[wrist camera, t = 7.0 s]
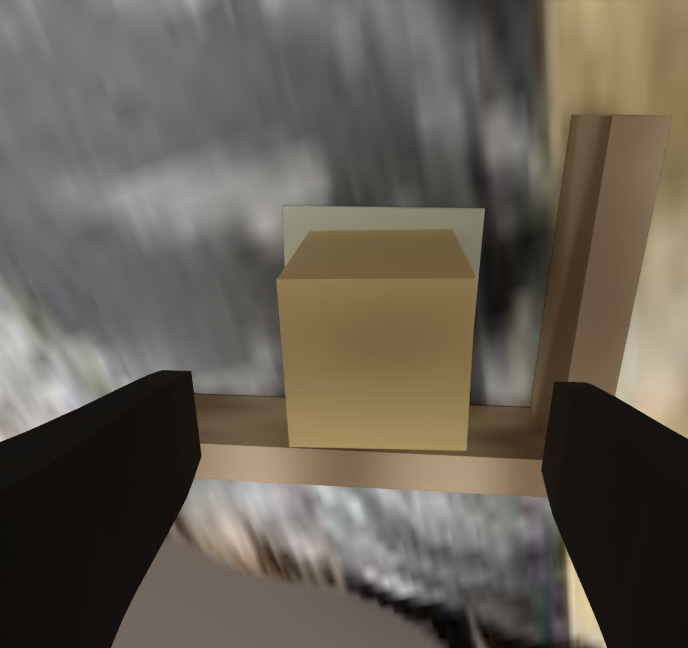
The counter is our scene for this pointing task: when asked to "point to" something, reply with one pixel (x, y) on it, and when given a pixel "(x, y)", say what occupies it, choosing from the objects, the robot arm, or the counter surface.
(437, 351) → the block
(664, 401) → the counter surface
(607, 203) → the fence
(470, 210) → the pad
